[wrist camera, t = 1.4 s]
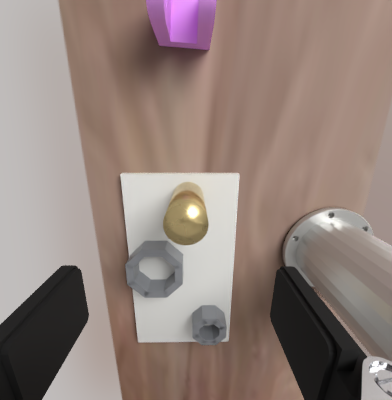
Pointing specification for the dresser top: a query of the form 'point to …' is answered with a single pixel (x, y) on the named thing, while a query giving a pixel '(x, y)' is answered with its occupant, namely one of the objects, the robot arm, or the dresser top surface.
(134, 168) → the dresser top surface
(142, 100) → the dresser top surface
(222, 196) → the fitting board
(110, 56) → the dresser top surface
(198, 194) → the brass pipe fitting
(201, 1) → the bracket
